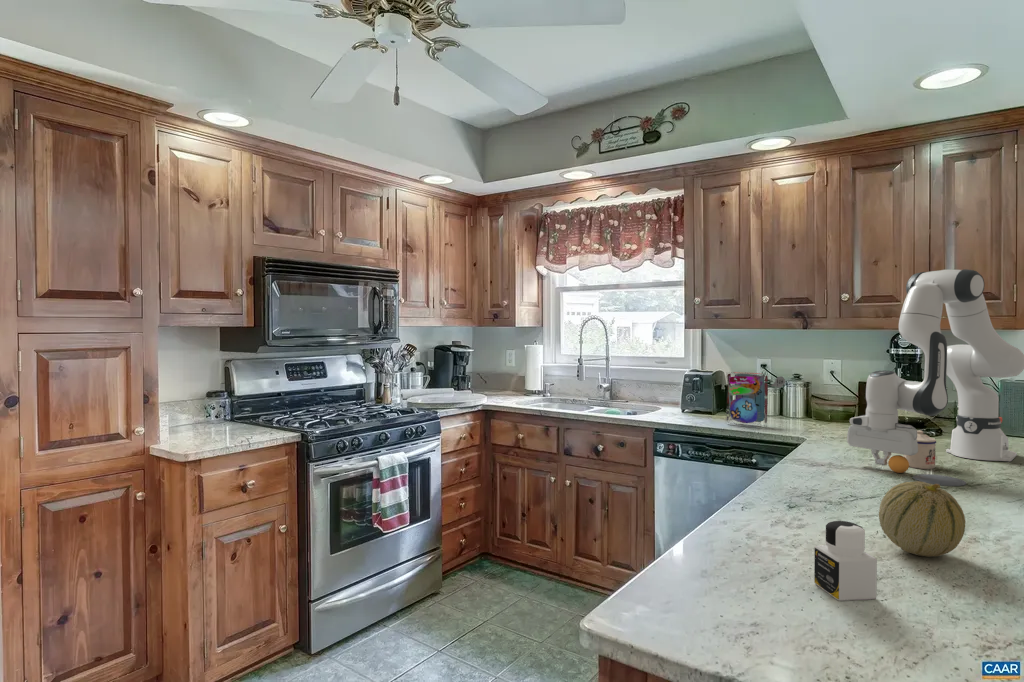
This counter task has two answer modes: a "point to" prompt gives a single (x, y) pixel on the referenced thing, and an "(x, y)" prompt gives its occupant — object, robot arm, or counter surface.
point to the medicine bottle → (845, 563)
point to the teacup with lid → (923, 453)
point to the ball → (898, 464)
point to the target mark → (939, 480)
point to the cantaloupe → (922, 518)
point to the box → (749, 397)
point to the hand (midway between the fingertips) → (881, 464)
